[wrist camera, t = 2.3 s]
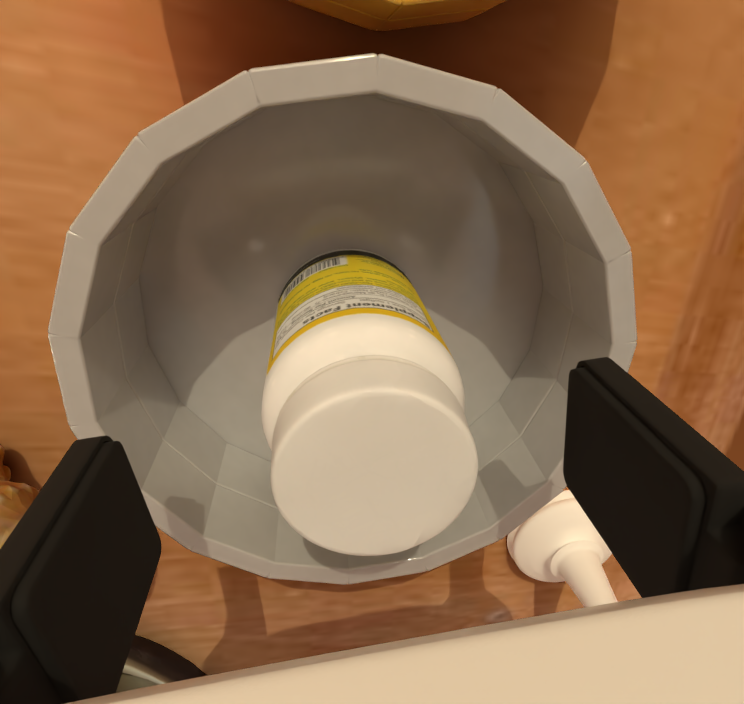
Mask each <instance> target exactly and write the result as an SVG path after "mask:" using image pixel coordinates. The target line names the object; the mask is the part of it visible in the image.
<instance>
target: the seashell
mask: <svg viewBox="0 0 744 704" xmlns="http://www.w3.org/2000/svg"><path fill="white" fill-rule="evenodd" d="M4 452H5V451H4V447H3V446H2V445H1V444H0V549H1V547H2V546H3V544H4V543H5V541H6V540H7V538H8V537H9V536H10V534H11V533H12V531H13V530H14V528H15V527H16V525H17V524H18V522H19V521H20V520H21V518H22V517H23V515H24V514H25V512H26V511H27V509H28V508H29V507H30V505H31V504H32V502H33V501H34V499H35V498H36V496H37V495H38V493H39V492H40V491H39V490H37V489H36V488H34V487H32V486H29V485H27V484H25V483H15V482H10V481H9V480H10V477H11V471H10V469H9V467H8V466H5V465H3V458H4Z"/></svg>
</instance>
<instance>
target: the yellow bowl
mask: <svg viewBox="0 0 744 704" xmlns="http://www.w3.org/2000/svg"><path fill="white" fill-rule="evenodd" d="M287 1H289V2H292V3H295V4H298V5H301V6H304V7H306V8H309V9H312V10H315V11H318V12H321V13H324V14H327V15H329V16H332V17H335V18H338V19H341V20H344V21H347V22H350V23H352V24H355V25H358V26H361V27H364V28H367V29H370V30H373V31H376V30H377V31H387V30H395V29H403V28H411V27H419V26H427V25H435V24H443V23H451V22H459V21H465V20H467V19H471V18H473V17H475V16H477V15H479V14H481V13H483V12H485V11H487V10H489V9H491V8H493V7H495V6H497V5H499V4H501V3H503V2H505V1H507V0H287Z"/></svg>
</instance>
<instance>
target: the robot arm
mask: <svg viewBox="0 0 744 704" xmlns="http://www.w3.org/2000/svg"><path fill="white" fill-rule="evenodd" d="M563 475H564V479H565V482H566V485H567V487H568V488H569V490H570V491H571V493H572V494H573V496H574V497H575V499H576V500H577V502H578V503H579V505H580V506H581V508H582V509H583V511H584V512H585V514H586V515H587V517H588V518H589V520H590V521H591V523H592V524H593V526H594V527H595V528H596V530H597V531H598V533H599V534H600V536H601V537H602V539H603V540H604V542H605V543H606V545H607V546H608V548H609V549H610V551H611V552H612V554H613V555H614V557H615V558H616V560H617V561H618V563H619V564H620V566H621V567H622V569H623V570H624V572H625V573H626V574H627V576H628V577H629V579H630V580H631V582H632V583H633V585H634V586H635V588H636V589H637V591H638V592H639V594H640V595H641V597H642V598H640V599H633V600H627V601H621V602H614V603H608V604H603V605H597V606H591V607H586V608H580V609H574V610H568V611H563V612H557V613H551V614H546V615H540V616H534V617H528V618H523V619H517V620H511V621H505V622H500V623H494V624H488V625H483V626H477V627H471V628H466V629H460V630H454V631H449V632H443V633H438V634H432V635H427V636H421V637H415V638H410V639H404V640H399V641H393V642H388V643H382V644H377V645H371V646H366V647H360V648H355V649H349V650H344V651H338V652H333V653H327V654H322V655H316V656H311V657H305V658H299V659H294V660H289V661H283V662H278V663H272V664H267V665H262V666H256V667H251V668H246V669H240V670H235V671H230V672H224V673H219V674H214V675H208V676H203V677H197V678H192V679H187V680H181V681H176V682H171V683H165V684H160V685H155V686H149V687H144V688H138V689H134V690H129V691H124V692H119V693H116V690H117V687H118V684H119V681H120V678H121V675H122V672H123V669H124V666H125V663H126V660H127V657H128V654H129V651H130V647H131V644H132V641H133V638H134V635H135V632H136V629H137V626H138V623H139V620H140V617H141V614H142V611H143V608H144V604H145V601H146V598H147V595H148V592H149V589H150V586H151V583H152V580H153V577H154V574H155V571H156V568H157V565H158V562H159V558H160V555H161V540H160V537H159V534H158V532H157V529H156V527H155V524H154V522H153V519H152V517H151V514H150V512H149V509H148V507H147V504H146V502H145V499H144V497H143V494H142V492H141V489H140V487H139V484H138V482H137V479H136V477H135V474H134V472H133V469H132V467H131V465H130V462H129V460H128V457H127V455H126V452H125V450H124V447H123V445H122V444H121V442H120V441H113V440H112V439H111V438H110V436H107V435H105V436H98V437H92V438H85V439H79V440H76V441H75V442H74V443H73V444H72V446H71V447H70V448H69V450H68V451H67V453H66V454H65V456H64V457H63V459H62V460H61V462H60V463H59V464H58V466H57V467H56V469H55V470H54V472H53V473H52V475H51V476H50V477H49V479H48V480H47V482H46V483H45V485H44V486H43V488H42V489H41V491H40V492H39V493H38V495H37V496H36V498H35V499H34V501H33V502H32V504H31V505H30V507H29V508H28V509H27V511H26V512H25V514H24V515H23V517H22V518H21V520H20V521H19V522H18V524H17V525H16V527H15V528H14V530H13V531H12V533H11V534H10V536H9V537H8V538H7V540H6V541H5V543H4V544H3V546H2V547H1V549H0V704H744V471H742V470H741V469H740V468H739V467H738V466H737V465H736V464H734V463H733V462H732V461H731V460H730V459H729V458H727V457H726V456H725V455H724V454H723V453H721V452H720V451H719V450H718V449H717V448H716V447H714V446H713V445H712V444H711V443H710V442H708V441H707V440H706V439H705V438H704V437H703V436H701V435H700V434H699V433H698V432H697V431H695V430H694V429H693V428H692V427H691V426H690V425H688V424H687V423H686V422H685V421H684V420H683V419H681V418H680V417H679V416H678V415H677V414H675V413H674V412H673V411H672V410H671V409H670V408H668V407H667V406H666V405H665V404H664V403H662V402H661V401H660V400H659V399H658V398H657V397H655V396H654V395H653V394H652V393H651V392H650V391H648V390H647V389H646V388H645V387H644V386H642V385H641V384H640V383H639V382H638V381H637V380H635V379H634V378H633V377H632V376H631V375H629V374H628V373H627V372H626V371H625V370H624V369H622V368H621V367H620V366H619V365H618V364H616V363H615V362H614V361H613V360H612V359H610V358H609V357H602V358H596V359H589V360H583V361H580V362H578V364H577V366H576V369H572V370H570V373H569V379H568V396H567V412H566V428H565V445H564V461H563Z"/></svg>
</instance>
